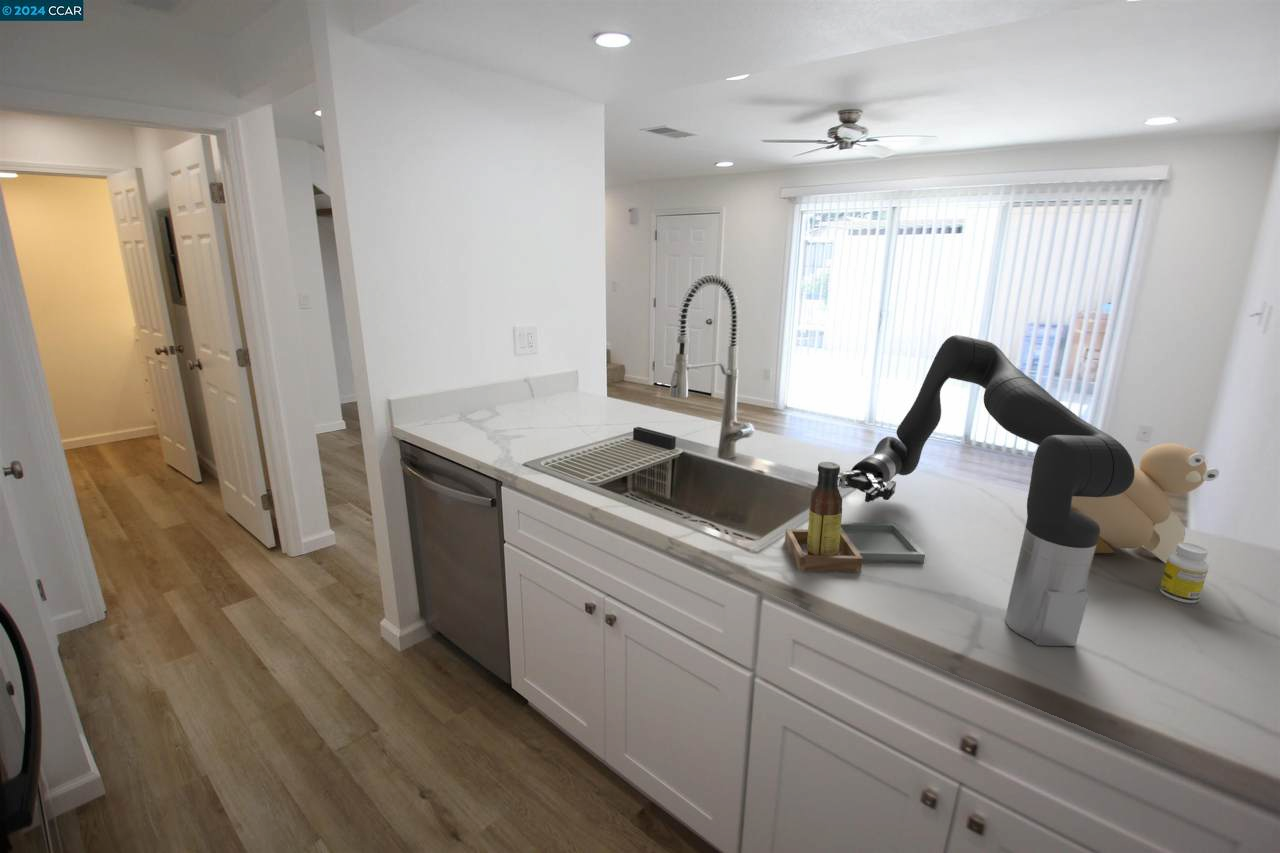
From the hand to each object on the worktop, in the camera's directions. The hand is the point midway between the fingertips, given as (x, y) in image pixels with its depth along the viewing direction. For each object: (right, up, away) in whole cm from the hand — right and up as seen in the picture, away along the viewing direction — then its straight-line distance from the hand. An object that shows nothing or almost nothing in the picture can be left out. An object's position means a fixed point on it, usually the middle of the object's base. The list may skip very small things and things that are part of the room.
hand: (846, 492), depth 122 cm
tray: (+6, -11, 0) cm, 13 cm away
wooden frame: (-7, -13, -4) cm, 15 cm away
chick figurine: (+54, -12, +2) cm, 56 cm away
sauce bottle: (-7, -13, -4) cm, 15 cm away
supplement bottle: (+55, -17, -16) cm, 60 cm away
